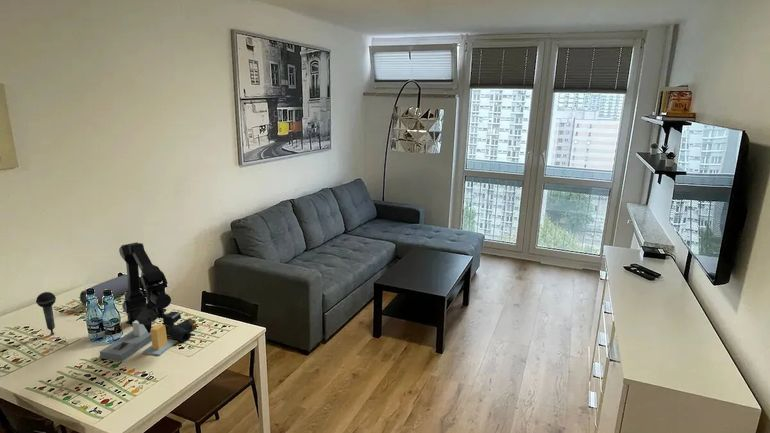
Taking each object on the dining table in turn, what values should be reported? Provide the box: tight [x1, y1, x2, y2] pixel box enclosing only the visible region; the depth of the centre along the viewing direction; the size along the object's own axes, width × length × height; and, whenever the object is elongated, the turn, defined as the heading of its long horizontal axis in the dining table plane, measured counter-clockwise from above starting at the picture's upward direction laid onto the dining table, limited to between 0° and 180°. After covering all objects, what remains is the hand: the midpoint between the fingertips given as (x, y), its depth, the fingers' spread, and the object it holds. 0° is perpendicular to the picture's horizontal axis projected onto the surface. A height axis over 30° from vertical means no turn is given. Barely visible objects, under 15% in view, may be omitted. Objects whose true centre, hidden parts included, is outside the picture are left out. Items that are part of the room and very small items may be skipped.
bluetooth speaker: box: [79, 274, 128, 307], centre depth 224 cm, size 23×9×10 cm, turn 159°
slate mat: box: [142, 338, 179, 357], centre depth 184 cm, size 8×11×1 cm
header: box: [99, 326, 154, 363], centre depth 184 cm, size 10×22×3 cm, turn 167°
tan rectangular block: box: [150, 323, 168, 350], centre depth 183 cm, size 3×5×9 cm, turn 166°
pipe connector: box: [161, 317, 197, 343], centre depth 195 cm, size 12×5×15 cm
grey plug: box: [131, 320, 147, 337], centre depth 189 cm, size 3×5×9 cm, turn 167°
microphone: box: [35, 291, 57, 336], centre depth 188 cm, size 7×7×20 cm
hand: (158, 334), depth 183 cm, fingers open, 9 cm apart
